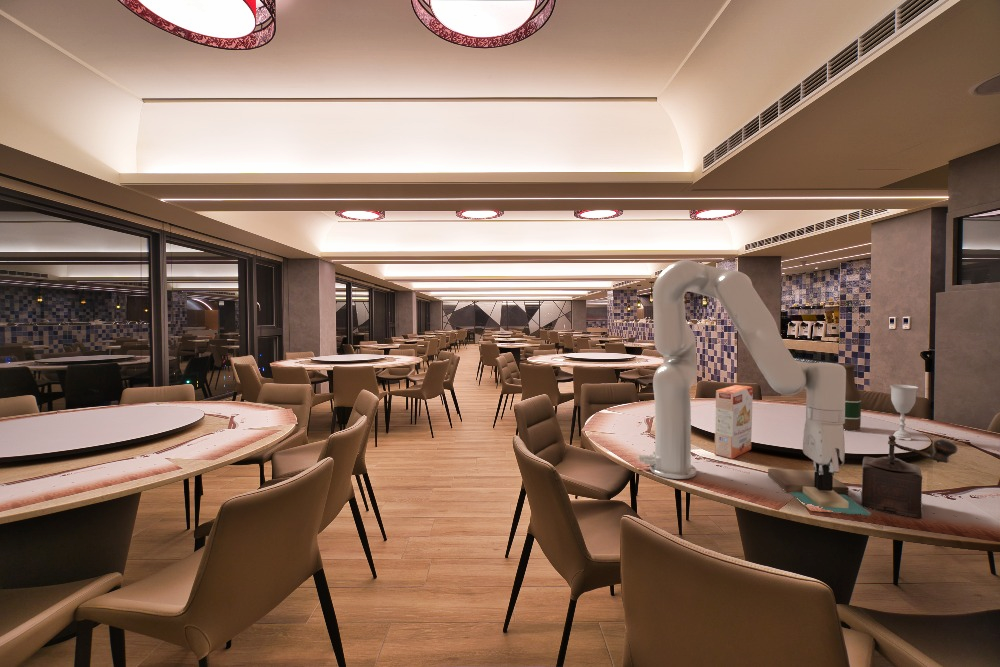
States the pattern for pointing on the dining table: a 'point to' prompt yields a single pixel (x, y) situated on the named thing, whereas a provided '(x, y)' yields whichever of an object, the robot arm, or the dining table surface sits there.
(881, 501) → the brown manual coffee grinder
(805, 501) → the teal mat
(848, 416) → the beer bottle
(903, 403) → the chalice
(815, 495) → the maple tile
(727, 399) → the cracker box
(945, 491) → the dining table surface
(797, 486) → the board
